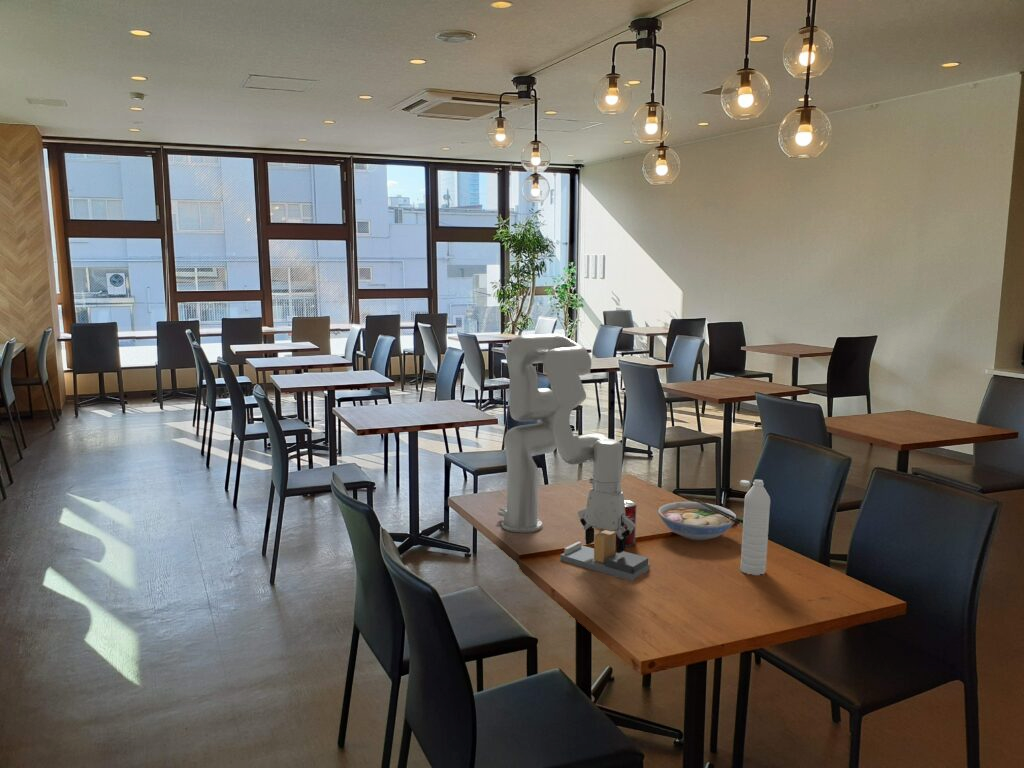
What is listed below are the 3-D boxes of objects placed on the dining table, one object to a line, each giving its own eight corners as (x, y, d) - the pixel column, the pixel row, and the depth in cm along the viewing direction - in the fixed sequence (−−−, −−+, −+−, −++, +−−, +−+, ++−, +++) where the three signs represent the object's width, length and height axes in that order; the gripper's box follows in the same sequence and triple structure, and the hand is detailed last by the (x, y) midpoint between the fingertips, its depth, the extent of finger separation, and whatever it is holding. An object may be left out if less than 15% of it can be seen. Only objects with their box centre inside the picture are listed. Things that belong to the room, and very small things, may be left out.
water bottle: (755, 565, 211) (761, 475, 207) (770, 574, 205) (777, 482, 201) (728, 569, 208) (733, 478, 204) (742, 578, 202) (748, 485, 198)
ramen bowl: (641, 526, 241) (643, 501, 240) (706, 520, 248) (707, 495, 247) (683, 555, 217) (685, 527, 216) (753, 547, 224) (755, 520, 223)
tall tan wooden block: (593, 560, 208) (594, 535, 207) (605, 553, 213) (606, 529, 212) (632, 571, 201) (633, 545, 200) (643, 564, 205) (644, 539, 204)
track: (560, 560, 213) (560, 549, 212) (580, 550, 220) (580, 539, 220) (630, 580, 199) (631, 569, 199) (649, 569, 207) (650, 558, 206)
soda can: (634, 548, 222) (636, 507, 221) (609, 545, 224) (610, 505, 222) (635, 539, 230) (637, 500, 228) (610, 537, 231) (612, 498, 229)
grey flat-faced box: (604, 565, 205) (604, 558, 205) (620, 557, 211) (620, 550, 211) (632, 574, 200) (633, 566, 199) (648, 565, 206) (648, 557, 206)
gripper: (572, 482, 209) (570, 543, 211) (628, 495, 198) (625, 559, 201) (587, 477, 215) (585, 536, 217) (642, 489, 204) (640, 551, 207)
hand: (605, 547), depth 209 cm, fingers open, 9 cm apart
